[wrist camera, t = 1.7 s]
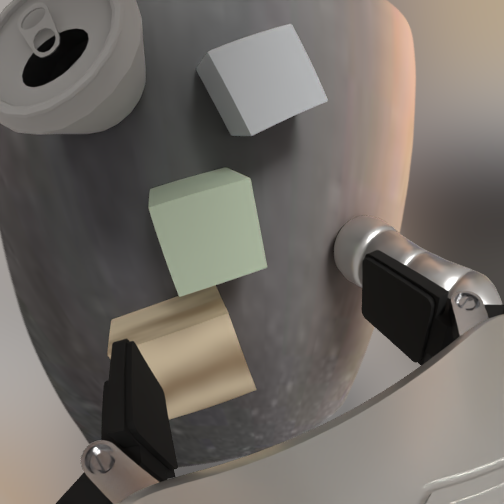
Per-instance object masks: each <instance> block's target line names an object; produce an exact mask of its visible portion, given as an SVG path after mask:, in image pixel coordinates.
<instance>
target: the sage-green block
mask: <svg viewBox="0 0 504 504" xmlns="http://www.w3.org/2000/svg"><path fill="white" fill-rule="evenodd" d="M148 208H149V212H150V215H151V218H152V221H153V224H154V227H155V230H156V233H157V236H158V239H159V242H160V245H161V248H162V251H163V254H164V257H165V260H166V263H167V265H168V268H169V271H170V274H171V277H172V279H173V282H174V285H175V287H176V290H177V293H178V295H179V297H181V296H184V295H187V294H190V293H193V292H196V291H199V290H202V289H206V288H209V287H212V286H215V285H218V284H221V283H224V282H227V281H230V280H233V279H235V278H238V277H241V276H244V275H247V274H250V273H253V272H256V271H259V270H262V269H265V268H267V263H266V258H265V252H264V247H263V242H262V236H261V231H260V226H259V221H258V215H257V210H256V205H255V200H254V195H253V189H252V184H251V179H250V178H249V177H246V176H244V175H242V174H240V173H238V172H236V171H233V170H231V169H229V168H227V167H224V168H221V169H217V170H213V171H209V172H206V173H202V174H198V175H195V176H191V177H188V178H184V179H181V180H178V181H174V182H171V183H168V184H164V185H161V186H158V187H155V188H152V189H150V192H149V206H148Z"/></svg>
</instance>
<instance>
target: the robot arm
mask: <svg viewBox="0 0 504 504" xmlns="http://www.w3.org/2000/svg"><path fill="white" fill-rule="evenodd" d="M448 294H449V291H447V290H446V289H444V288H442V287H441V286H439V285H438V284H436V283H434V282H433V281H431V280H429V279H428V278H426V277H424V276H423V275H421V274H419V273H418V272H416V271H414V270H413V269H411V268H409V267H408V266H406V265H404V264H402V263H401V262H399V261H397V260H396V259H394V258H392V257H390V256H389V255H387V254H385V253H383V252H381V251H380V250H375V251H373V252H371V253H368V254H366V255H365V258H364V259H363V261H362V314H363V316H364V317H365V319H367V320H368V321H369V322H370V323H371V324H372V325H373V326H374V327H376V328H377V329H378V330H379V331H380V332H381V333H382V334H383V335H384V336H386V337H387V338H388V339H389V340H390V341H391V342H392V343H393V344H395V345H396V346H397V347H398V348H399V349H400V350H401V351H402V352H403V353H405V354H406V355H407V356H408V357H409V358H410V359H411V360H412V361H413V362H418V363H419V364H420V365H421V366H420V367H419V368H417V369H416V370H415V371H413V372H412V373H410V374H409V375H407V376H406V377H404V378H403V379H401V380H400V381H398V382H397V383H395V384H394V385H392V386H391V387H389V388H387V389H386V390H384V391H383V392H381V393H379V394H378V395H376V396H374V397H373V398H371V399H369V400H368V401H366V402H364V403H363V404H361V405H359V406H357V407H355V408H354V409H352V410H350V411H348V412H346V413H344V414H343V415H341V416H339V417H337V418H335V419H333V420H331V421H329V422H327V423H325V424H323V425H321V426H319V427H316V428H314V429H312V430H310V431H308V432H306V433H304V434H301V435H299V436H297V437H294V438H292V439H290V440H287V441H285V442H283V443H280V444H278V445H275V446H273V447H270V448H267V449H265V450H262V451H259V452H257V453H254V454H251V455H248V456H245V457H242V458H239V459H237V460H233V461H230V462H227V463H224V464H221V465H218V466H215V467H211V468H208V469H204V470H200V471H196V472H193V473H189V474H186V475H182V476H179V477H175V473H174V469H177V468H178V466H177V461H176V456H175V451H174V446H173V441H172V435H171V430H170V424H169V418H168V412H167V406H166V399H165V394H164V391H163V389H162V387H161V385H160V384H159V382H158V380H157V379H156V377H155V376H154V374H153V372H152V371H151V369H150V367H149V366H148V364H147V362H146V361H145V359H144V357H143V356H142V354H141V352H140V350H139V349H138V347H137V345H136V343H135V342H134V341H129V340H128V339H123V340H120V341H116V342H113V344H112V351H111V362H110V374H109V380H108V381H106V382H105V383H104V391H103V407H102V440H99V441H95V442H93V443H91V444H90V445H88V446H87V448H86V449H85V450H84V451H83V454H82V456H81V466H82V469H83V471H84V473H83V474H82V475H81V477H80V478H79V479H78V480H77V481H76V482H75V483H74V484H73V485H72V486H71V487H70V489H69V490H68V491H67V492H66V493H65V494H64V495H63V496H62V497H61V498H60V500H59V501H58V502H57V503H56V504H504V305H490V304H484V303H483V301H482V299H481V297H479V296H478V295H477V294H475V293H473V292H470V291H464V290H463V291H458V292H455V293H454V294H453V295H452V297H451V299H449V298H448ZM173 477H175V478H173ZM168 478H171V479H168ZM167 479H168V480H167Z"/></svg>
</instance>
